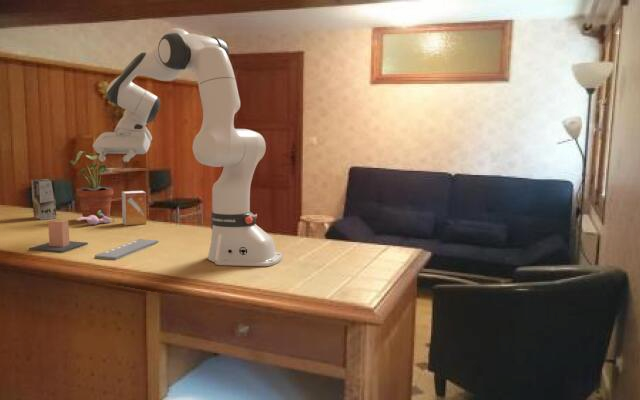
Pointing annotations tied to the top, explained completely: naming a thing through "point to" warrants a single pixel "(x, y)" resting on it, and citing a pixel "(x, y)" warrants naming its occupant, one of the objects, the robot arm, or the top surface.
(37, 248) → the mat
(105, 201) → the potted plant
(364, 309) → the top surface
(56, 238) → the stub block
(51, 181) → the coffee box
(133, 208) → the small box
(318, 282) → the top surface
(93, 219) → the rabbit figure
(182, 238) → the top surface
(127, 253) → the plate
